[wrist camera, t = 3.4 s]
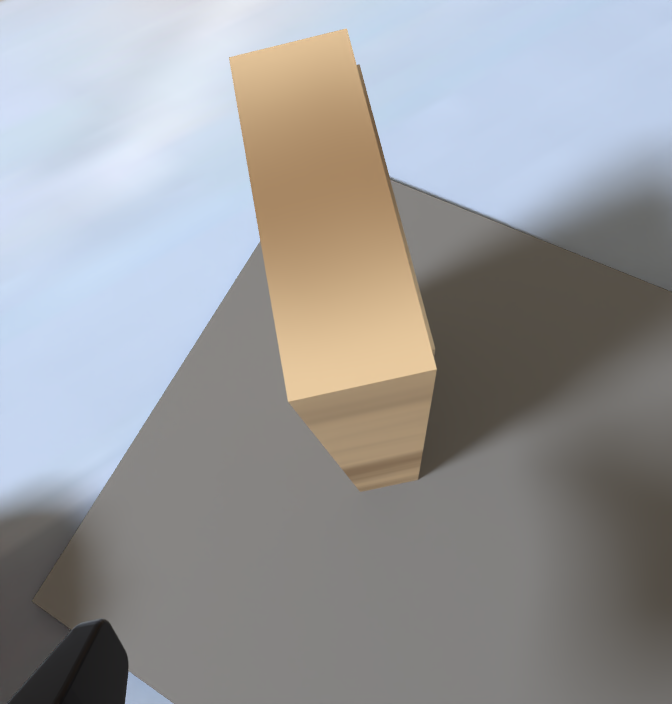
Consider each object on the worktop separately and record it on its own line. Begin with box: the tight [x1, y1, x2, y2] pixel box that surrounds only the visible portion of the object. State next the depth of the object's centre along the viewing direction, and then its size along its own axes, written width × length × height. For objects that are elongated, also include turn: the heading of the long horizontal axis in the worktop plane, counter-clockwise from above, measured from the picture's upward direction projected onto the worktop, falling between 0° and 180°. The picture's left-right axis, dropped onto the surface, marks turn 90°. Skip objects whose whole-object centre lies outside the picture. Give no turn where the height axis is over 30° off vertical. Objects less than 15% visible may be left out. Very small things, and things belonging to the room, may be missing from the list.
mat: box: [32, 180, 672, 704], centre depth 20 cm, size 19×20×1 cm
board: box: [229, 29, 437, 492], centre depth 15 cm, size 6×2×13 cm, turn 11°
